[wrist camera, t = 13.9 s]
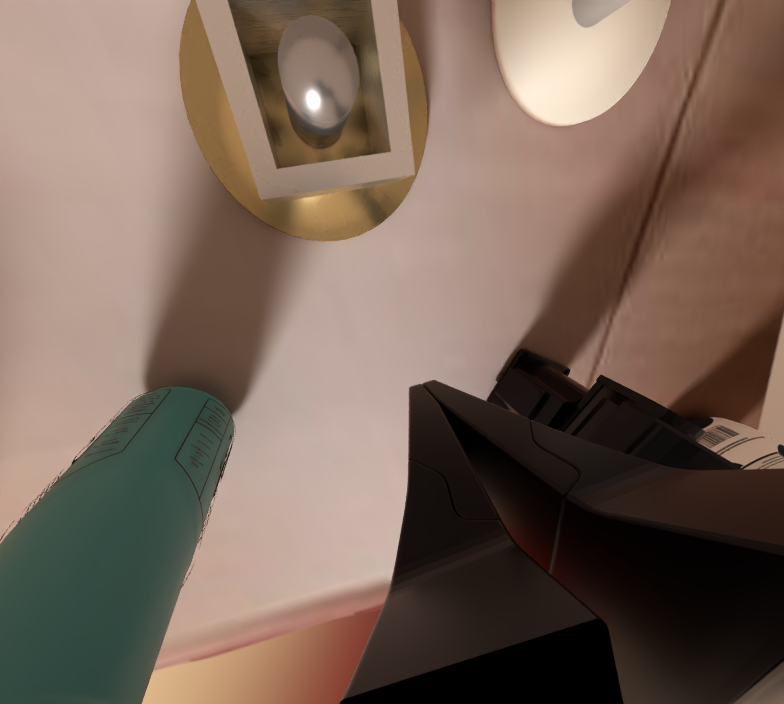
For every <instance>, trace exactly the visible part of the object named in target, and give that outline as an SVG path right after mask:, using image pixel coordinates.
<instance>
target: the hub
mask: <svg viewBox="0 0 784 704" xmlns="http://www.w3.org/2000/svg"><path fill="white" fill-rule="evenodd" d="M399 25H400V34H401V44H402V54H403V63H404V73H405V82H406V92H407V102H408V111H409V121H410V130H411V140H412V150H413V159H414V169H415V175H412V176H410V177H407V178H405V179H402V180H400V181H398V182H395V183H392V184H386V185H380V186H374V187H368V188H362V189H356V190H350V191H344V192H338V193H332V194H326V195H320V196H315V197H309V198H303V199H297V200H291V201H285V202H279V203H273V204H271V203H268V202H265V201H263V200H261V199H260V196H259V193H258V190H257V187H256V184H255V181H254V178H253V175H252V172H251V169H250V166H249V162H248V159H247V156H246V153H245V150H244V147H243V144H242V141H241V138H240V135H239V132H238V129H237V126H236V123H235V120H234V116H233V113H232V110H231V107H230V104H229V101H228V98H227V95H226V92H225V89H224V86H223V83H222V80H221V77H220V74H219V70H218V67H217V64H216V61H215V58H214V55H213V52H212V49H211V46H210V43H209V40H208V37H207V34H206V31H205V28H204V24H203V21H202V18H201V15H200V12H199V9H198V6H197V3H196V0H191V2H190V5H189V7H188V10H187V13H186V17H185V21H184V25H183V29H182V35H181V44H180V53H179V54H180V80H181V87H182V94H183V100H184V104H185V108H186V112H187V116H188V119H189V122H190V125H191V127H192V130H193V133H194V136H195V138H196V140H197V143H198V145H199V147H200V149H201V151H202V153H203V155H204V157H205V159H206V160H207V162H208V163H209V165H210V167H211V168H212V170H213V171H214V173H215V175H216V176H217V177H218V179H219V180H220V181H221V182H222V184H223V185H224V186H225V188H226V189H227V190H228V191H229V192H230V193H231V194H232V195H233V196H234V197H235V198H236V200H237V201H238V202H239V203H240V204H242V205H243V206H244V207H245V208H246V209H247V210H249V211H250V212H251V213H252V214H253V215H255V216H256V217H258V218H259V219H261V220H262V221H264V222H265V223H267V224H268V225H270V226H272V227H274V228H276V229H278V230H280V231H282V232H285V233H287V234H290V235H293V236H296V237H300V238H304V239H308V240H317V241H337V240H343V239H349V238H352V237H355V236H358V235H361V234H363V233H365V232H367V231H369V230H371V229H373V228H374V227H376V226H377V225H379V224H380V223H382V222H383V221H384V220H385V219H387V218H388V217H389V216H390V215H391V214H392V213H393V212H394V211H395V210H396V209H397V207H398V206H399V205H400V204H401V203H402V201H403V200H404V198H405V197H406V195H407V194H408V192H409V190H410V188H411V186H412V184H413V182H414V180H415V178H416V176H417V173H418V170H419V167H420V164H421V161H422V157H423V152H424V148H425V141H426V133H427V102H426V92H425V86H424V80H423V75H422V71H421V68H420V64H419V60H418V57H417V54H416V51H415V49H414V46H413V43H412V41H411V38H410V36H409V34H408V32H407V30H406V28H405V26H404V24H403V22H402V20H401V18H400V17H399ZM249 58H250V62H251V65H252V69H253V72H254V76H255V79H256V83H257V86H258V90H259V93H260V97H261V100H262V104H263V107H264V111H265V114H266V118H267V121H268V125H269V128H270V132H271V135H272V139H273V142H274V146H275V149H276V153H277V156H278V160H279V163H280V167H281V168H287V167H293V166H300V165H307V164H313V163H320V162H327V161H333V160H340V159H346V158H353V157H360V156H366V155H372V152H371V145H370V139H369V133H368V127H367V120H366V114H365V108H364V101H363V95H362V89H361V82H360V76H359V68H358V62H357V57H356V51H355V46H351V44H350V42H349V40H348V39H347V37H346V36H345V34H344V33H343V32H342V31H341V30H340V29H339V28H338V27H337V26H336V25H335V24H333V23H332V22H330V21H329V20H327V19H325V18H323V17H319V16H314V15H307V16H303V17H300V18H298V19H296V20H294V21H293V22H292V23H291V24H290V25H289V26H288V27H287V28H286V30H285V31H284V33H283V35H282V37H281V40H280V43H279V48H278V53H267V54H256V55H249Z"/></svg>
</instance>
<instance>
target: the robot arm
mask: <svg viewBox="0 0 784 704" xmlns="http://www.w3.org/2000/svg"><path fill="white" fill-rule="evenodd" d="M523 355H524V356H523ZM569 373H570V369H569V368H568V367H566V366H564V365H561V364H559V363H557V362H554V361H552V360H550V359H547V358H545V357H543V356H540V355H538V354H536V353H533V352H531V351H529V350H526V349H521V350H520V351H519V352H518V354H517V355H516V357H515V358H514V360H513V362H512V363H511V365H510V366H509V368H508V370H507V371H506V373H505V374H504V376H503V377H502V379H501V381H500V382H499V384H498V385H497V387H496V389H495V390H494V392H493V393H492V395H491V397H490V398H489V400H488V401H484V400H482V399H480V398H477V397H475V396H472V395H470V394H467V393H465V392H462V391H460V390H458V389H455V388H453V387H450V386H448V385H445V384H443V383H441V382H438V381H436V380H432V381H429V382H425V383H423V384H418V385H415V386H411V387H410V388H409V453H408V460H409V462H408V486H407V495H406V503H405V510H404V516H403V522H402V528H401V534H400V539H399V545H398V551H397V557H396V562H395V567H394V572H393V576H392V581H391V584H390V588H389V591H388V595H387V598H386V600H385V602H384V605H383V607H382V609H381V612H380V614H379V616H378V619H377V621H376V623H375V626H374V628H373V630H372V633H371V635H370V637H369V640H368V642H367V644H366V647H365V649H364V651H363V654H362V656H361V658H360V661H359V663H358V665H357V668H356V670H355V672H354V675H353V677H352V679H351V681H350V684H349V686H348V688H347V691H346V692H345V694H344V696H343V698H342V700H341V702H340V704H784V468H778V469H744V470H742V469H741V468H740V467H738V466H737V465H736V464H734V463H732V462H731V461H729V460H727V459H726V458H724V457H722V456H721V455H719V454H717V453H715V452H714V451H712V450H710V449H709V448H707V447H705V446H704V445H702V444H700V443H699V441H700V440H701V439H702V438H703V437H704V436H705V435H706V434H707V432H705V431H704V430H703V429H701V428H699V427H698V426H696V425H695V424H693V423H691V422H690V421H688V420H686V419H685V418H683V417H681V416H680V415H678V414H676V413H674V412H672V411H671V410H669V409H667V408H665V407H664V406H662V405H660V404H658V403H656V402H654V401H652V400H651V399H649V398H647V397H645V396H643V395H641V394H639V393H637V392H635V391H633V390H631V389H629V388H627V387H625V386H623V385H621V384H619V383H617V382H615V381H613V380H611V379H609V378H607V377H605V376H603V375H600V376H599V377H598V378H597V380H596V381H597V382H596V383H595V384H594V385H593V386H592V388H591V389H590V390H589V389H587V388H586V387H584V386H582V385H581V384H579V383H578V382H576V381H574V380H573V379H571V378H570V377H568V375H569Z"/></svg>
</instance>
